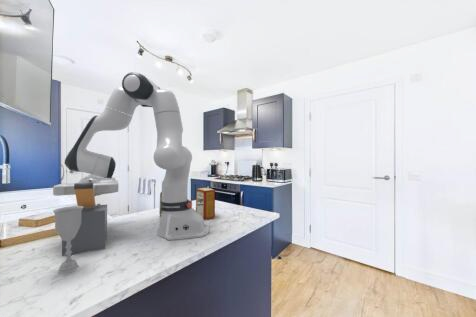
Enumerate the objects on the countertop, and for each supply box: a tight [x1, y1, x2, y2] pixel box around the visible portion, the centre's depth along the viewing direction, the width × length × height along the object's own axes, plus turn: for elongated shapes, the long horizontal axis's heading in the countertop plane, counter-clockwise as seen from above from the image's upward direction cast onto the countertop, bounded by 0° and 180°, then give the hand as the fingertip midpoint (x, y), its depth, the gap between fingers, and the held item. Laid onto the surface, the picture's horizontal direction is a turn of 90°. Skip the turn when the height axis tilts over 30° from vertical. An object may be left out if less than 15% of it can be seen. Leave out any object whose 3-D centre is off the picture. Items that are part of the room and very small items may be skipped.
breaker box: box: [61, 203, 108, 257], centre depth 75 cm, size 10×12×15 cm
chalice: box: [52, 205, 83, 275], centre depth 60 cm, size 7×7×18 cm
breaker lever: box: [74, 182, 97, 209], centre depth 72 cm, size 2×5×12 cm
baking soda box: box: [195, 187, 216, 221], centre depth 113 cm, size 10×6×16 cm
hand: (84, 191), depth 72 cm, fingers closed, pressing on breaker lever
